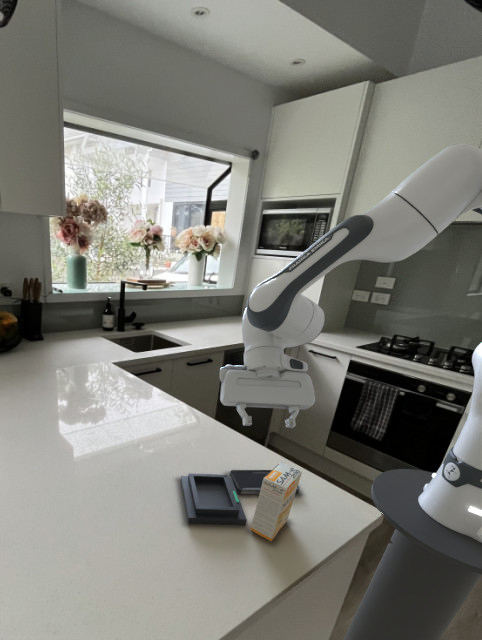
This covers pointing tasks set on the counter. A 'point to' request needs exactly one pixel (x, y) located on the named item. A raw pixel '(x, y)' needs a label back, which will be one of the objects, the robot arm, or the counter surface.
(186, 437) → the counter surface
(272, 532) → the supplement box
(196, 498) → the charging dock
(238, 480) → the phone
